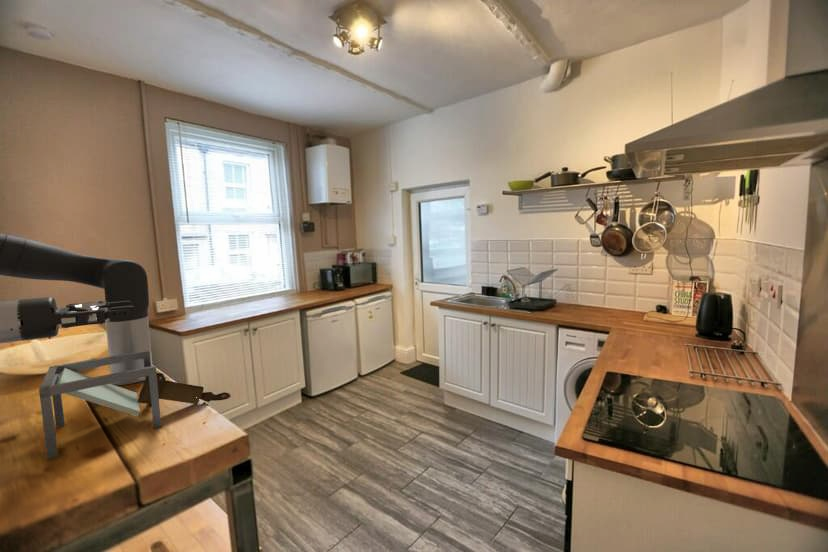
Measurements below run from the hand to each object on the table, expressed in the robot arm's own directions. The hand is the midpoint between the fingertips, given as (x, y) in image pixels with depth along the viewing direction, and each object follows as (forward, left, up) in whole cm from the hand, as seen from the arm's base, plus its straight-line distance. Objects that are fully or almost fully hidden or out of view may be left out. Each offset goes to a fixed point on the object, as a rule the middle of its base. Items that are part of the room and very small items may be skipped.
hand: (132, 308), depth 75 cm
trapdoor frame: (0, -5, -24) cm, 24 cm away
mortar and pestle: (0, +1, -17) cm, 17 cm away
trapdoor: (0, -7, -17) cm, 18 cm away
